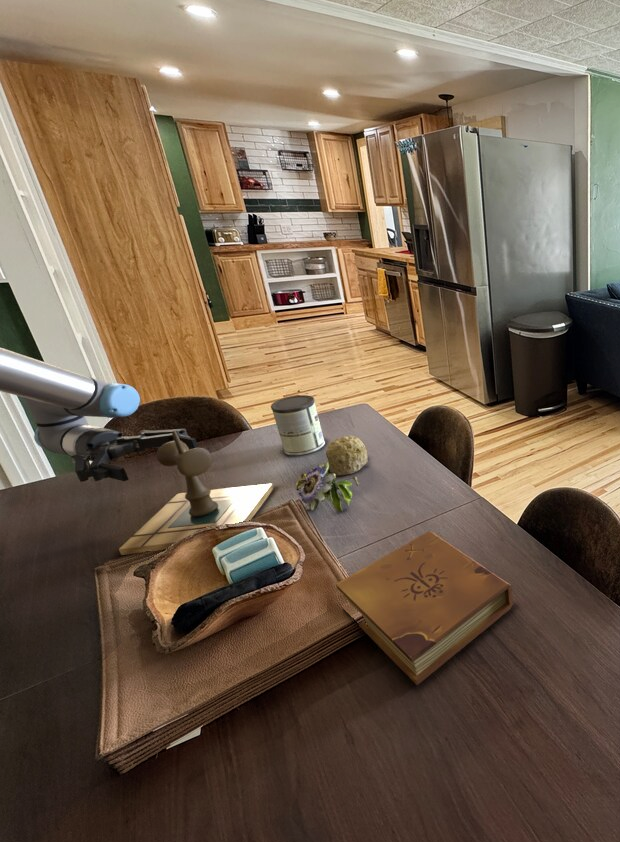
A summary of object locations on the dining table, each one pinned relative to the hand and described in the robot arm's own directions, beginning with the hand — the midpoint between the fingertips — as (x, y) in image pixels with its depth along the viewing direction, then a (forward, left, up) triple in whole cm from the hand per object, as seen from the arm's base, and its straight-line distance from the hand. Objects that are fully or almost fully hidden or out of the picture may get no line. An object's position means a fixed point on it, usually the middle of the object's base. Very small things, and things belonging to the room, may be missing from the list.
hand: (162, 458), depth 101 cm
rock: (+31, +15, -14) cm, 37 cm away
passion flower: (+31, -2, -14) cm, 34 cm away
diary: (+57, -40, -14) cm, 71 cm away
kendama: (+6, -3, -13) cm, 14 cm away
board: (+6, -3, -14) cm, 16 cm away
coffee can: (+16, +29, -14) cm, 36 cm away
